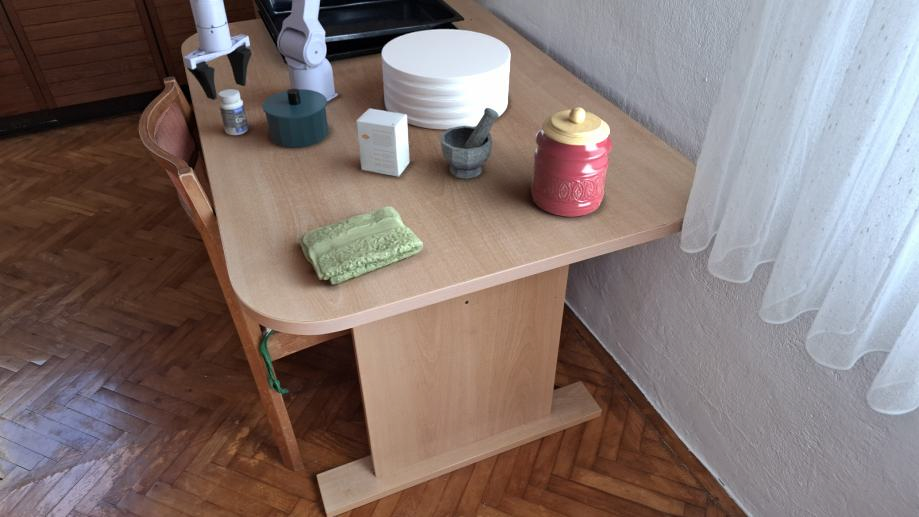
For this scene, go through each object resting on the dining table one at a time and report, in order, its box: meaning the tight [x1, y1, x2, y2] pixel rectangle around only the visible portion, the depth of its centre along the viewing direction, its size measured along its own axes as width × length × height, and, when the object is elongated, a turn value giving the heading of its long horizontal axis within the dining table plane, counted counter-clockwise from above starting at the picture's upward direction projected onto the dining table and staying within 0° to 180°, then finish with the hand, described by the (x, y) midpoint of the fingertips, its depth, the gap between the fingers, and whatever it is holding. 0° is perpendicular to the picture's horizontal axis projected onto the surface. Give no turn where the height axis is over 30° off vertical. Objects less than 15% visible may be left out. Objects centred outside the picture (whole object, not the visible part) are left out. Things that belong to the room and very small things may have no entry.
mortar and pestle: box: [440, 108, 500, 179], centre depth 122 cm, size 11×9×12 cm
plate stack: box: [381, 28, 512, 130], centre depth 146 cm, size 28×28×12 cm
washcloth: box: [297, 205, 424, 286], centre depth 105 cm, size 13×18×3 cm
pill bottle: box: [218, 88, 249, 136], centre depth 135 cm, size 5×5×8 cm
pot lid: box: [261, 88, 328, 119], centre depth 132 cm, size 13×13×4 cm
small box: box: [355, 107, 411, 178], centre depth 123 cm, size 8×6×10 cm
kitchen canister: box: [530, 106, 613, 218], centre depth 113 cm, size 13×13×18 cm
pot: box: [265, 106, 329, 149], centre depth 135 cm, size 12×12×6 cm
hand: (226, 91), depth 131 cm, fingers open, 7 cm apart
